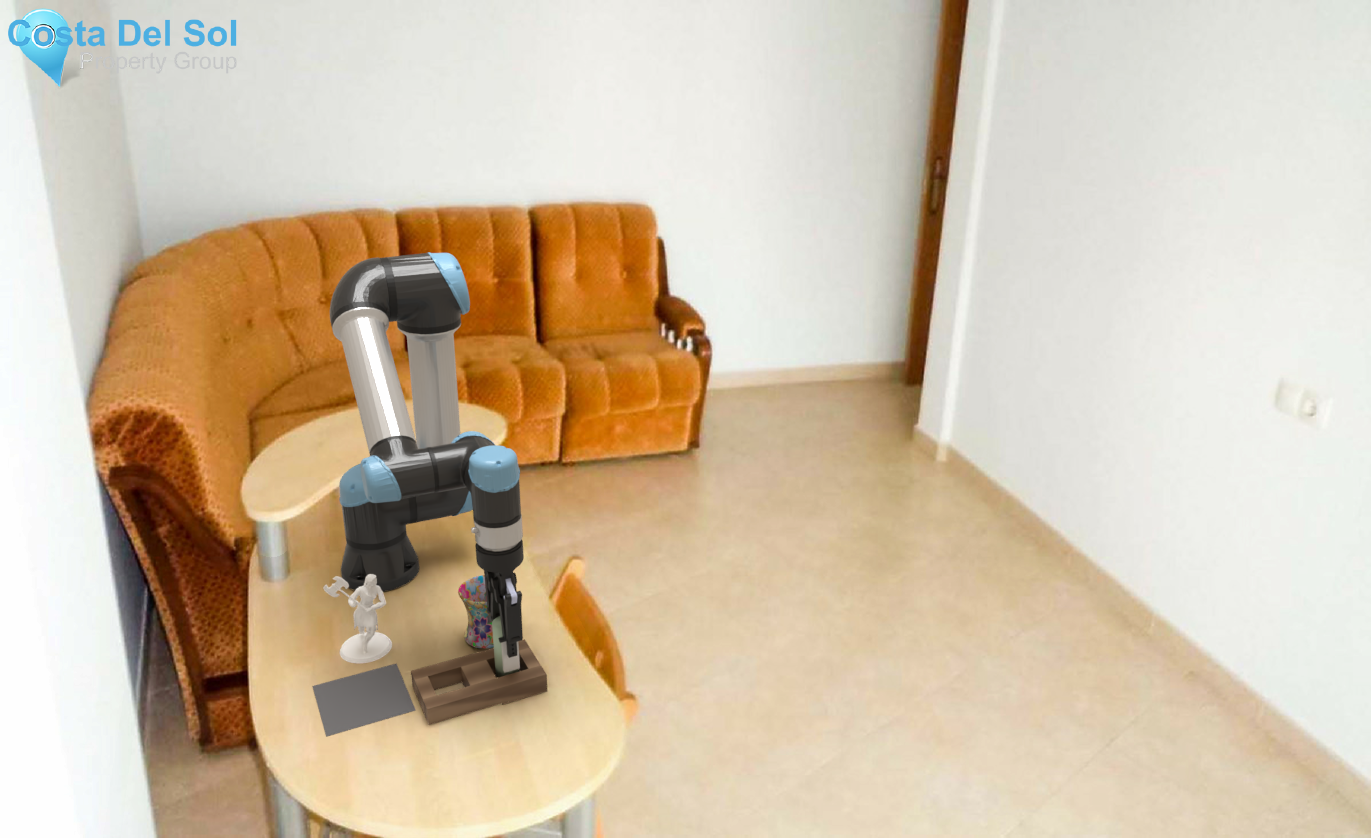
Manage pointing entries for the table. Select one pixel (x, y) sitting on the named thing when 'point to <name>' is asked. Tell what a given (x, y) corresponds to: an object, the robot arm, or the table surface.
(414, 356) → the robot arm
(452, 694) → the walnut hole block
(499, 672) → the sage peg
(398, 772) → the table surface
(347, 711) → the rubber mat
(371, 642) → the figurine
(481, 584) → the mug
